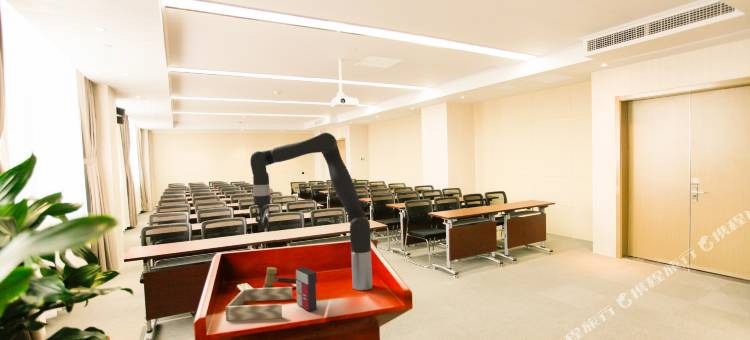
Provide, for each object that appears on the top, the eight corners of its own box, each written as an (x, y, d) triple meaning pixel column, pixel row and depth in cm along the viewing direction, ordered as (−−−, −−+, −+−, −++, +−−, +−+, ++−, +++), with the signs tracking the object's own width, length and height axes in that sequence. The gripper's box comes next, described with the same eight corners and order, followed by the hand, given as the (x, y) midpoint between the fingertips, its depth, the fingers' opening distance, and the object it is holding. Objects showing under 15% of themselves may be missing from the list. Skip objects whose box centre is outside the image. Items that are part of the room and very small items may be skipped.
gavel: (306, 291, 182) (310, 270, 183) (308, 294, 178) (312, 273, 179) (262, 288, 174) (266, 266, 175) (263, 291, 170) (267, 268, 171)
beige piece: (292, 298, 163) (291, 286, 162) (281, 317, 143) (280, 304, 142) (243, 300, 162) (243, 288, 162) (226, 320, 142) (225, 307, 142)
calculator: (295, 304, 155) (294, 268, 155) (305, 302, 158) (303, 266, 157) (308, 312, 147) (306, 274, 146) (318, 309, 149) (316, 272, 149)
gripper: (265, 195, 167) (267, 231, 168) (273, 192, 182) (275, 226, 182) (248, 196, 167) (250, 232, 168) (258, 193, 181) (259, 226, 182)
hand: (263, 229), depth 175 cm, fingers open, 8 cm apart
